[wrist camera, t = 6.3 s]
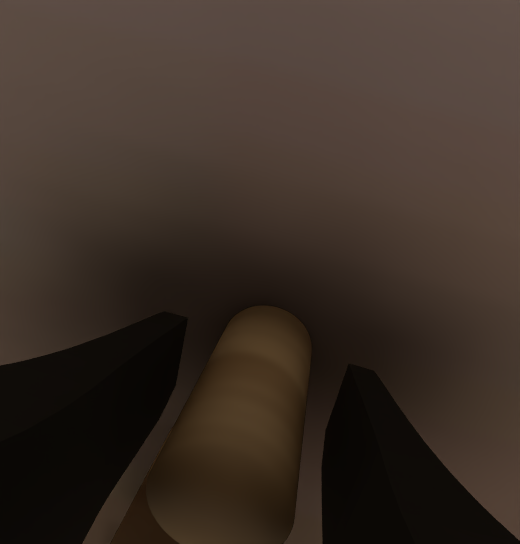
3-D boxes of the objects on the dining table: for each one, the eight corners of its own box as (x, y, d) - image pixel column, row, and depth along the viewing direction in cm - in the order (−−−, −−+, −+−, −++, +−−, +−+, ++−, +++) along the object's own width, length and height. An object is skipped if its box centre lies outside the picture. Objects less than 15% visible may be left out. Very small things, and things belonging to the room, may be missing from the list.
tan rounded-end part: (253, 552, 15) (211, 769, 10) (148, 511, 16) (55, 704, 10) (349, 332, 12) (358, 493, 7) (212, 284, 12) (122, 405, 7)
